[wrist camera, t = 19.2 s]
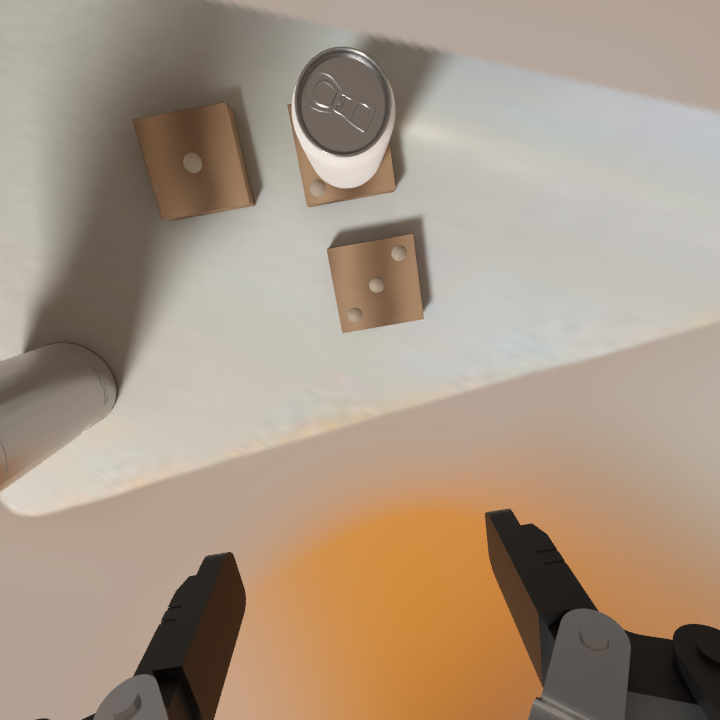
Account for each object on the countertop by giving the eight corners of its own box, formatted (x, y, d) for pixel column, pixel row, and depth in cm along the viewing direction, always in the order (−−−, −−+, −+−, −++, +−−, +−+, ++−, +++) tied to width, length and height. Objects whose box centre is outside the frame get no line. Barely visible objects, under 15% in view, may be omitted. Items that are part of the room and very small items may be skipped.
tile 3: (342, 328, 41) (342, 333, 39) (327, 248, 39) (326, 249, 37) (420, 315, 41) (423, 319, 39) (409, 234, 39) (412, 233, 37)
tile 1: (171, 220, 38) (161, 219, 36) (144, 126, 36) (132, 119, 34) (254, 205, 38) (249, 203, 36) (232, 109, 35) (225, 102, 34)
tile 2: (309, 207, 38) (307, 205, 36) (290, 111, 36) (287, 104, 34) (393, 191, 38) (395, 189, 36) (380, 95, 35) (382, 86, 33)
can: (328, 90, 33) (316, 12, 22) (396, 131, 34) (419, 76, 23) (295, 166, 35) (268, 130, 24) (361, 203, 36) (367, 185, 24)
